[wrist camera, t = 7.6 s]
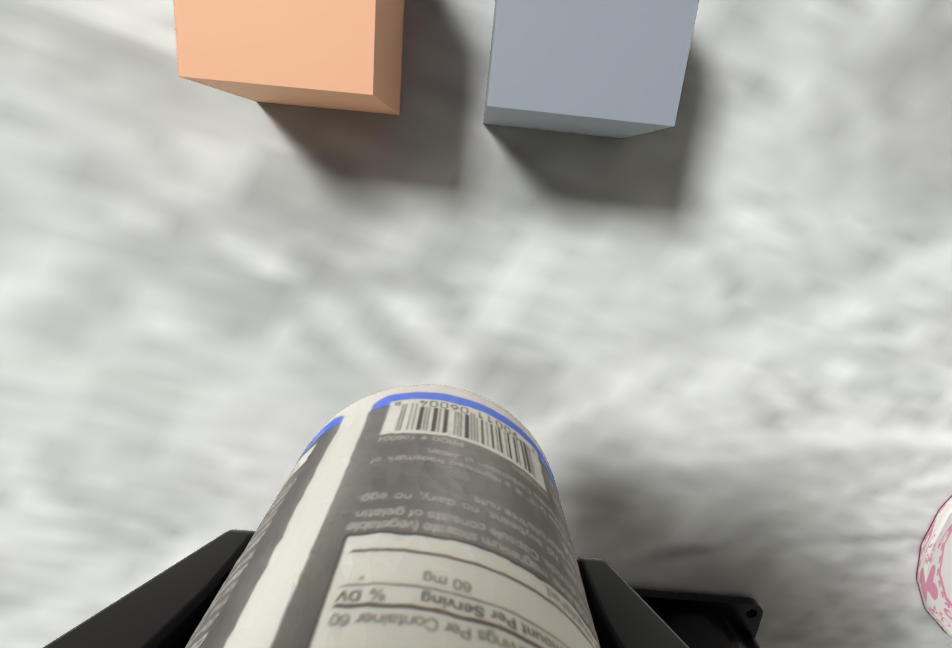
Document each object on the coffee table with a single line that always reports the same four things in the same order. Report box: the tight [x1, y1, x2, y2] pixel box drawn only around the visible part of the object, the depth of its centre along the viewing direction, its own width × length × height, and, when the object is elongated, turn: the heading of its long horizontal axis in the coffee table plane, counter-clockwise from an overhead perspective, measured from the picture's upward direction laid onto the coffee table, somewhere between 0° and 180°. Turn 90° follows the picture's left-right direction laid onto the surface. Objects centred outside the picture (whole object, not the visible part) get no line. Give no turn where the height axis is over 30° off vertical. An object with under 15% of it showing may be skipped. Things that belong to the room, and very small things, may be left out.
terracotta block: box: [173, 0, 404, 115], centre depth 15 cm, size 5×5×5 cm
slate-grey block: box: [483, 0, 699, 139], centre depth 15 cm, size 5×5×5 cm
